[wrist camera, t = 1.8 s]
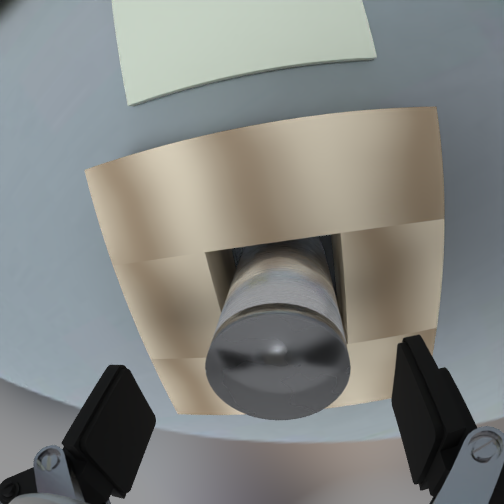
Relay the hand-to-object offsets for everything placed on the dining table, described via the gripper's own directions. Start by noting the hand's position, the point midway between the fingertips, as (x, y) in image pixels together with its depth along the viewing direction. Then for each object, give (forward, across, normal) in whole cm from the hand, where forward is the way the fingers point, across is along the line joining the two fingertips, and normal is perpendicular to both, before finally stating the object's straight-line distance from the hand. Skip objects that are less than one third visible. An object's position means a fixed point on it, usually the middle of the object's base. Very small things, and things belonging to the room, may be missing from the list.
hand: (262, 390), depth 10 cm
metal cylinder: (+10, -1, 0) cm, 11 cm away
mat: (+10, -1, -16) cm, 19 cm away
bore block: (+10, -1, 0) cm, 11 cm away
